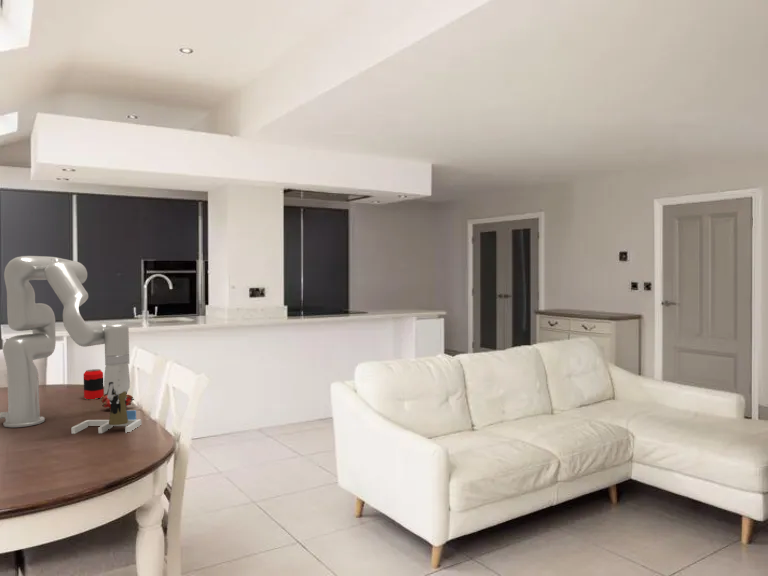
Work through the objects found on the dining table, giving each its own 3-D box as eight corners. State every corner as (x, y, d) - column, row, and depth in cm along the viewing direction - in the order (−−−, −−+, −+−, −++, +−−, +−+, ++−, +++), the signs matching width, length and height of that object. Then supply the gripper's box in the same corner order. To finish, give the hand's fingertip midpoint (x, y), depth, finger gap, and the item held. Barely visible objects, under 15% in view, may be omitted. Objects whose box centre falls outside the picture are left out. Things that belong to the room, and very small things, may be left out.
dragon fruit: (98, 414, 235) (131, 416, 239) (98, 405, 228) (132, 407, 232) (102, 394, 239) (134, 396, 244) (102, 384, 233) (135, 387, 237)
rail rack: (71, 433, 201) (71, 418, 201) (87, 425, 212) (87, 411, 212) (129, 432, 201) (128, 417, 200) (142, 424, 212) (142, 410, 211)
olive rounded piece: (120, 425, 201) (120, 391, 201) (104, 424, 202) (104, 391, 202) (131, 421, 206) (131, 389, 207) (116, 421, 208) (116, 389, 208)
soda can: (85, 400, 253) (84, 372, 253) (83, 397, 259) (82, 370, 259) (105, 398, 257) (104, 370, 257) (102, 395, 264) (101, 368, 263)
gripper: (117, 356, 212) (118, 408, 213) (94, 363, 196) (95, 420, 196) (138, 356, 212) (139, 408, 213) (117, 363, 196) (119, 419, 196)
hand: (118, 413), depth 205 cm, fingers closed on olive rounded piece, 3 cm apart
